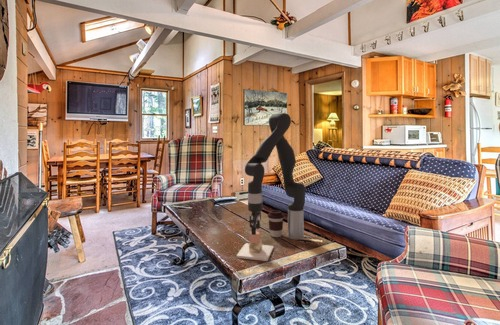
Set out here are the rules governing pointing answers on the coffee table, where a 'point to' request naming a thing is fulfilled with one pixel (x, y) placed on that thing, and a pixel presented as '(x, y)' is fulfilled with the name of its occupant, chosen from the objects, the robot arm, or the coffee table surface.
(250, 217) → the robot arm
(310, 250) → the coffee table surface
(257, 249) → the maple block
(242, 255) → the base plate
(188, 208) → the coffee table surface
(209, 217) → the coffee table surface
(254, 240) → the terracotta block
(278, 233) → the coffee cup
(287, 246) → the coffee table surface
